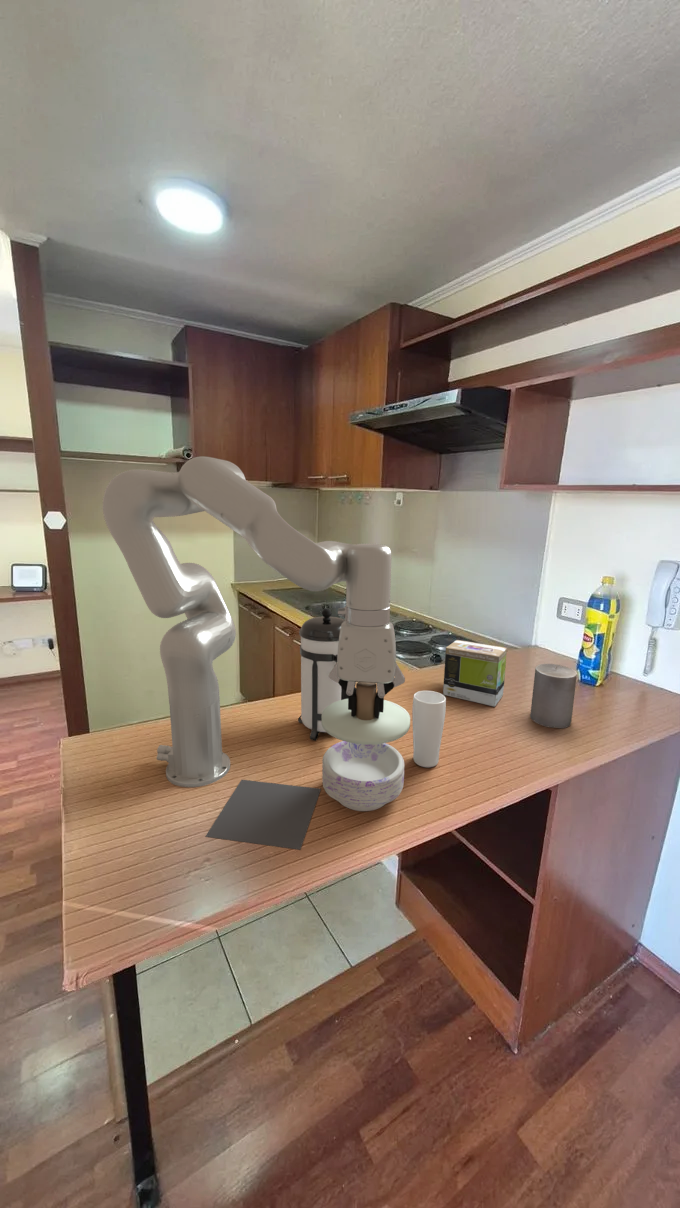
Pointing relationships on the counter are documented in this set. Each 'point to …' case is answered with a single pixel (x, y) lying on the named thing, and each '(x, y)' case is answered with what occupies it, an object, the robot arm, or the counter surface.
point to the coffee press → (319, 669)
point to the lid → (365, 719)
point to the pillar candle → (553, 695)
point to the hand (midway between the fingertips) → (365, 713)
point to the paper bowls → (363, 774)
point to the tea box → (474, 672)
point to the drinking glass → (427, 727)
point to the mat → (266, 814)
